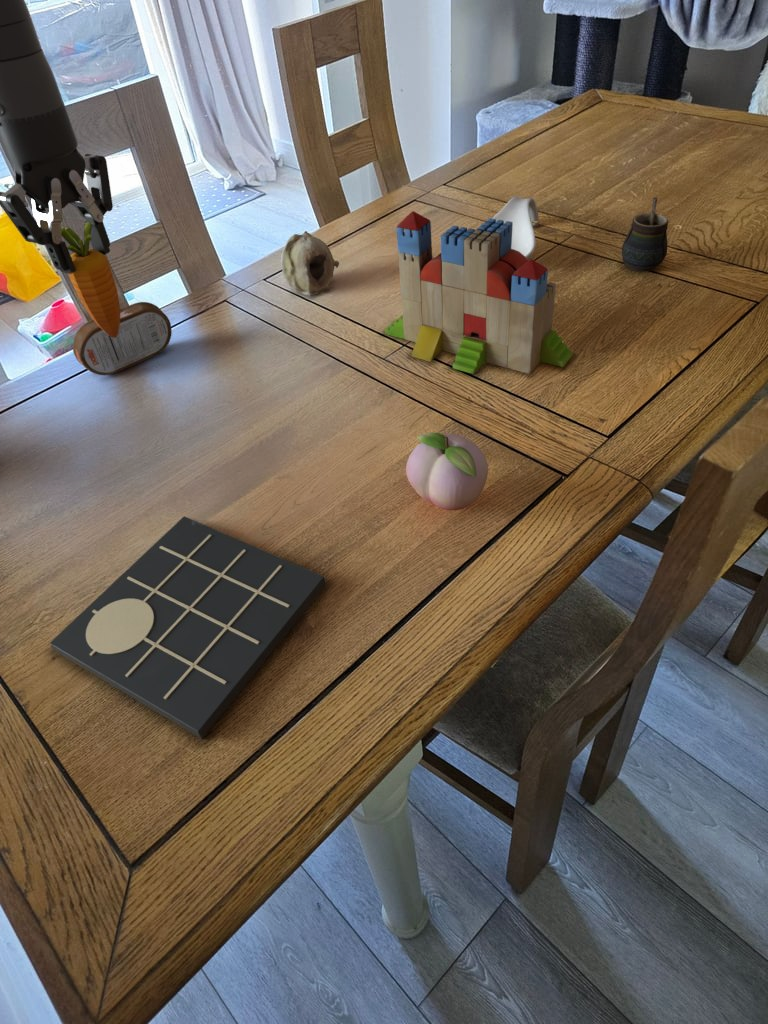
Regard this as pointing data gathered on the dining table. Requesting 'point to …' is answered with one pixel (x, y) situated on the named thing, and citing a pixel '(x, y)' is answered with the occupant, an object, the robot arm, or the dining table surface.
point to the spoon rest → (521, 223)
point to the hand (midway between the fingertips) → (85, 261)
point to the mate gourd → (646, 241)
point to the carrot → (94, 281)
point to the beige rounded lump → (307, 264)
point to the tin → (123, 340)
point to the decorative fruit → (447, 470)
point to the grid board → (190, 623)
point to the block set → (475, 298)
